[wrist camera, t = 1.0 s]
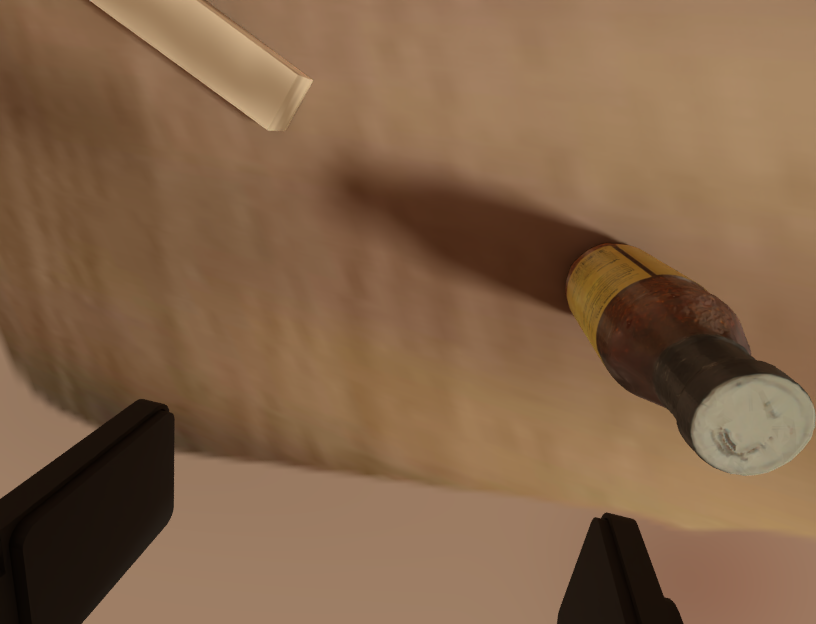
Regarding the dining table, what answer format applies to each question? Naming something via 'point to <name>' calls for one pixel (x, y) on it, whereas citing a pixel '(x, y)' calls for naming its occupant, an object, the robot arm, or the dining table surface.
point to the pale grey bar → (217, 55)
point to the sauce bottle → (688, 359)
